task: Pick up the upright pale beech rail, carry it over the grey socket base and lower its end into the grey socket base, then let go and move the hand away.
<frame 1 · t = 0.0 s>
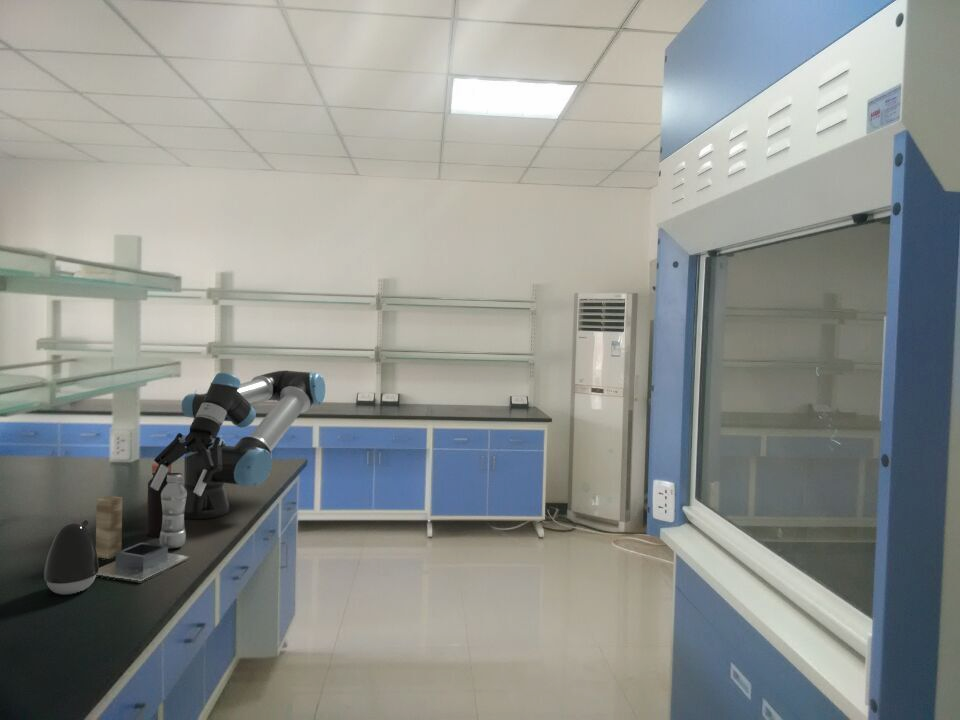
hand: (175, 491, 166), 15 cm above the lab bench, tool tilted 35°, fingers open, 13 cm apart
plastic bottle: (172, 548, 167), on the lab bench
vinegar: (160, 533, 178), on the lab bench
grey socket base: (141, 567, 153), on the lab bench
dark grey egg shape: (71, 590, 139), on the lab bench
beech rail: (108, 556, 159), on the lab bench
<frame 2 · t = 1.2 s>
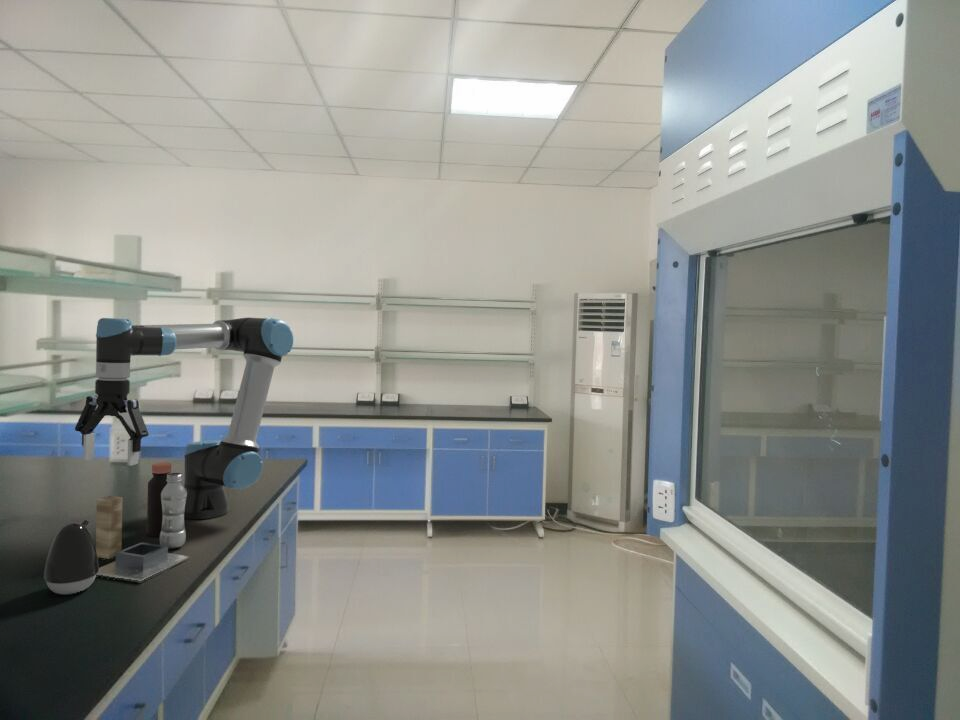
hand: (110, 462, 158), 24 cm above the lab bench, tool pointing down, fingers open, 13 cm apart
nothing on the lab bench moved.
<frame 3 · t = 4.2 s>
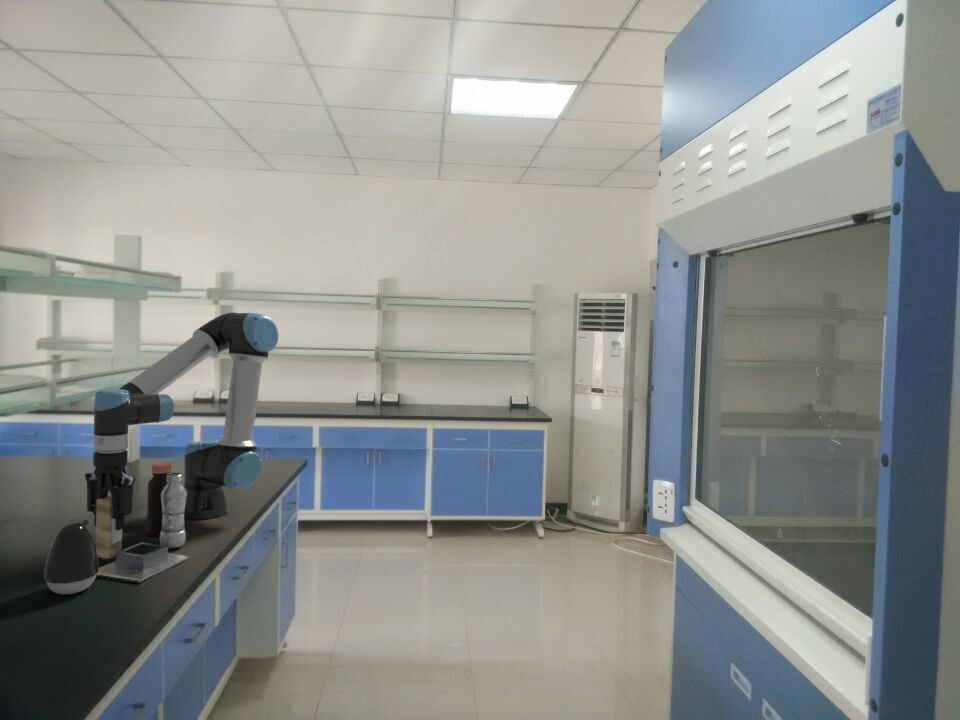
hand: (108, 540, 159), 4 cm above the lab bench, tool pointing down, fingers closed on beech rail, 4 cm apart
beech rail: (108, 556, 159), on the lab bench, touching gripper
everything else where it was.
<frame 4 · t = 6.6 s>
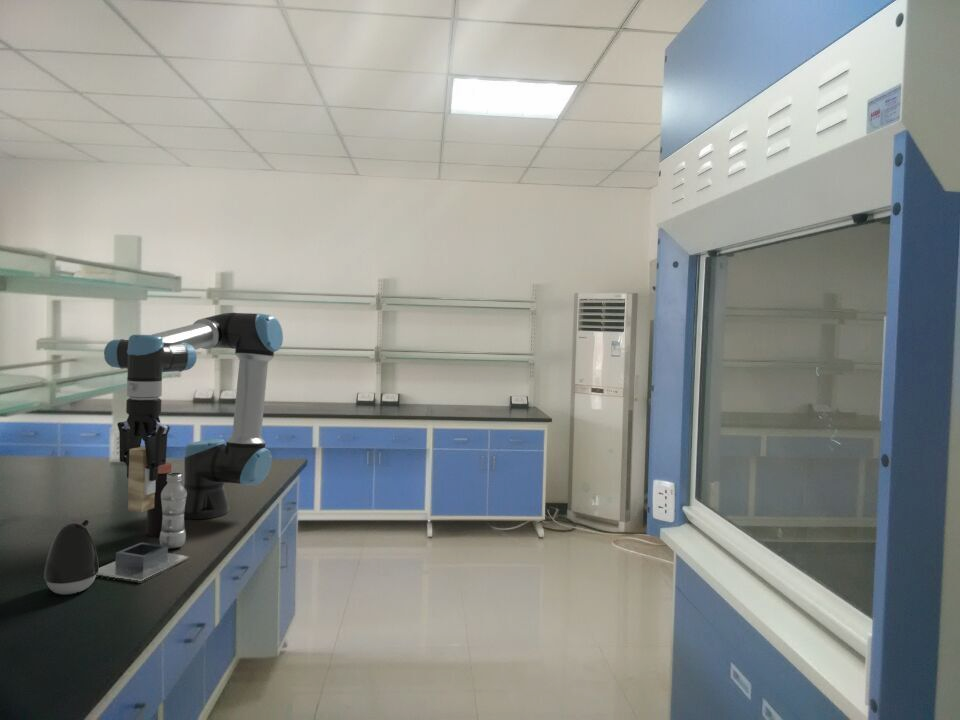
hand: (141, 492, 152), 19 cm above the lab bench, tool pointing down, fingers closed on beech rail, 4 cm apart
beech rail: (141, 508, 152), point 15 cm above the lab bench, touching gripper
everything else where it was.
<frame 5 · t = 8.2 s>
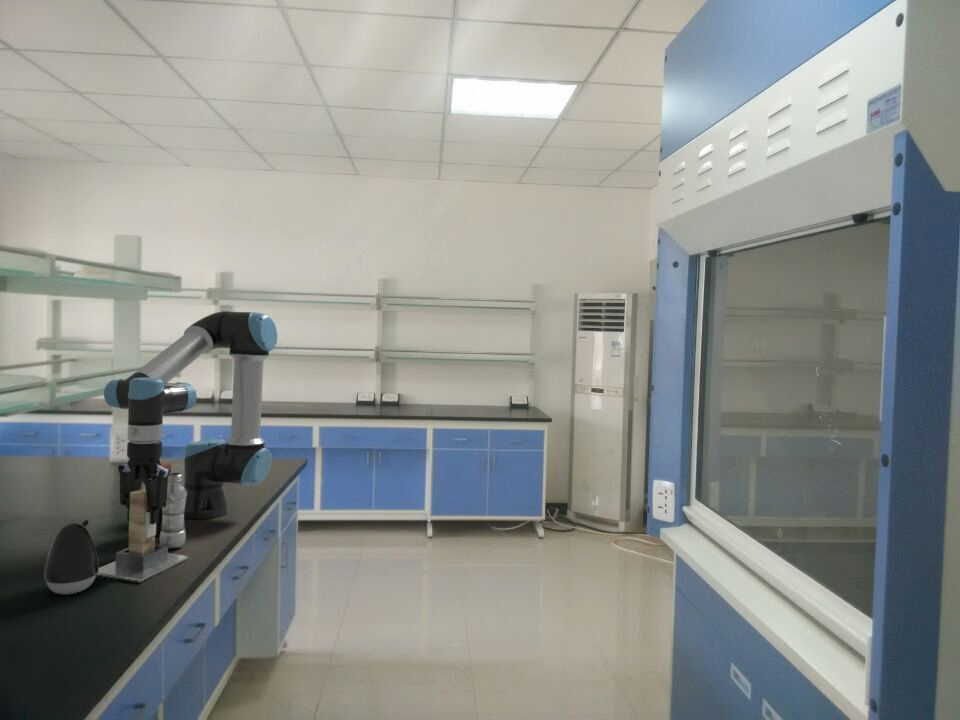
hand: (142, 534, 152), 8 cm above the lab bench, tool pointing down, fingers closed on beech rail, 4 cm apart
beech rail: (141, 551, 153), point 4 cm above the lab bench, touching gripper
everything else where it was.
when the fingers open (7 cm above the lab bench, at t = 9.3 s): beech rail drops 1 cm, resting on grey socket base.
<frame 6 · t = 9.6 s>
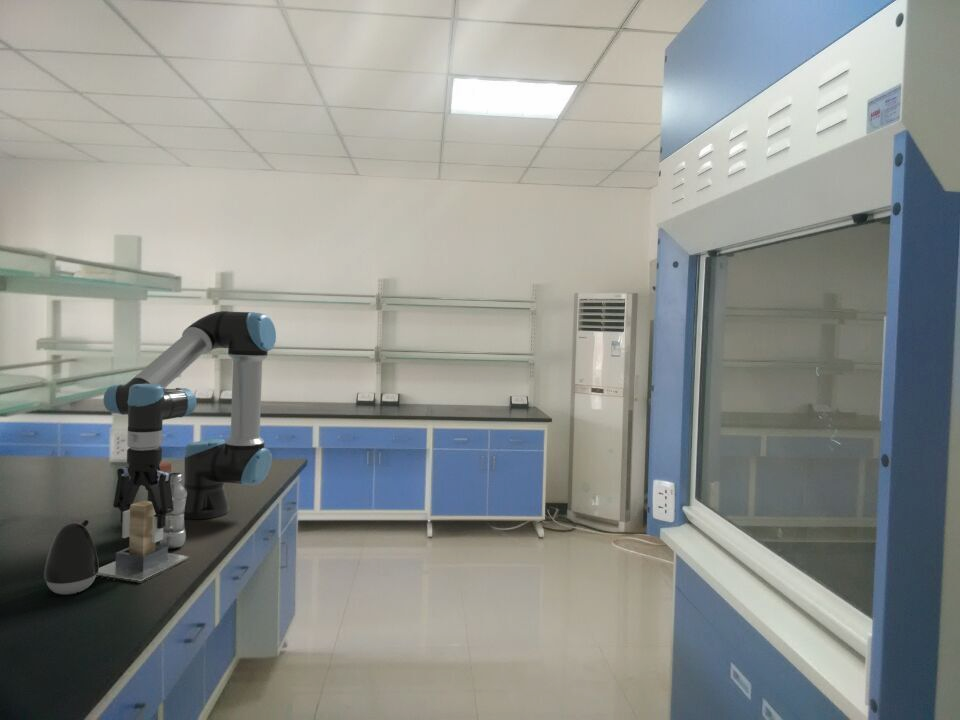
hand: (142, 538, 153), 7 cm above the lab bench, tool pointing down, fingers open, 8 cm apart
beech rail: (142, 563, 153), point 1 cm above the lab bench, touching grey socket base
everything else where it was.
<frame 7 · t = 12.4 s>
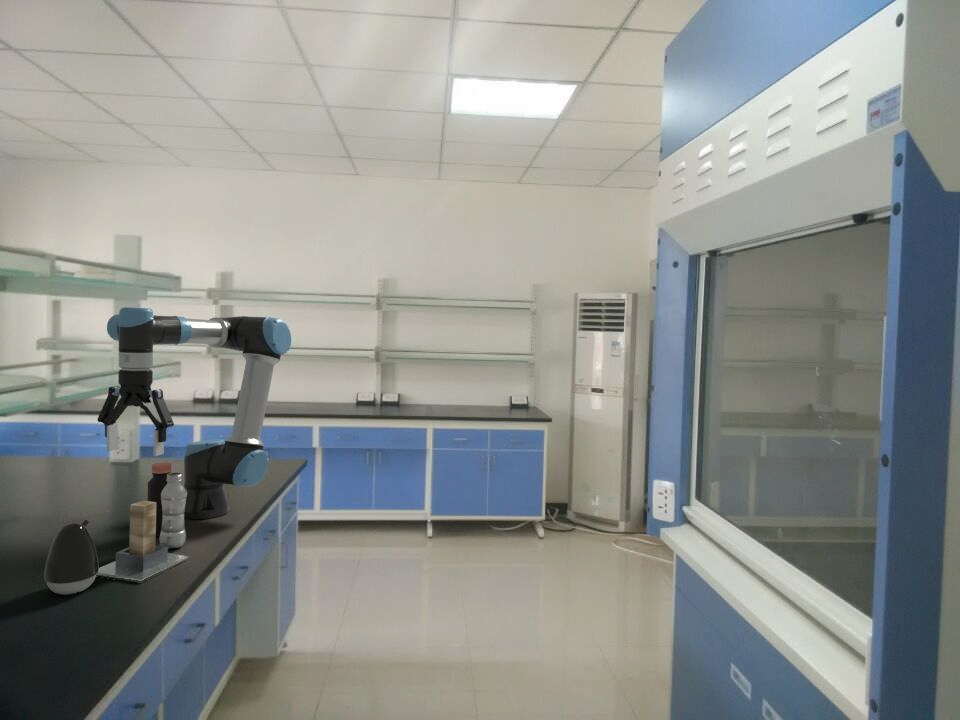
hand: (135, 452, 157), 27 cm above the lab bench, tool pointing down, fingers open, 13 cm apart
nothing on the lab bench moved.
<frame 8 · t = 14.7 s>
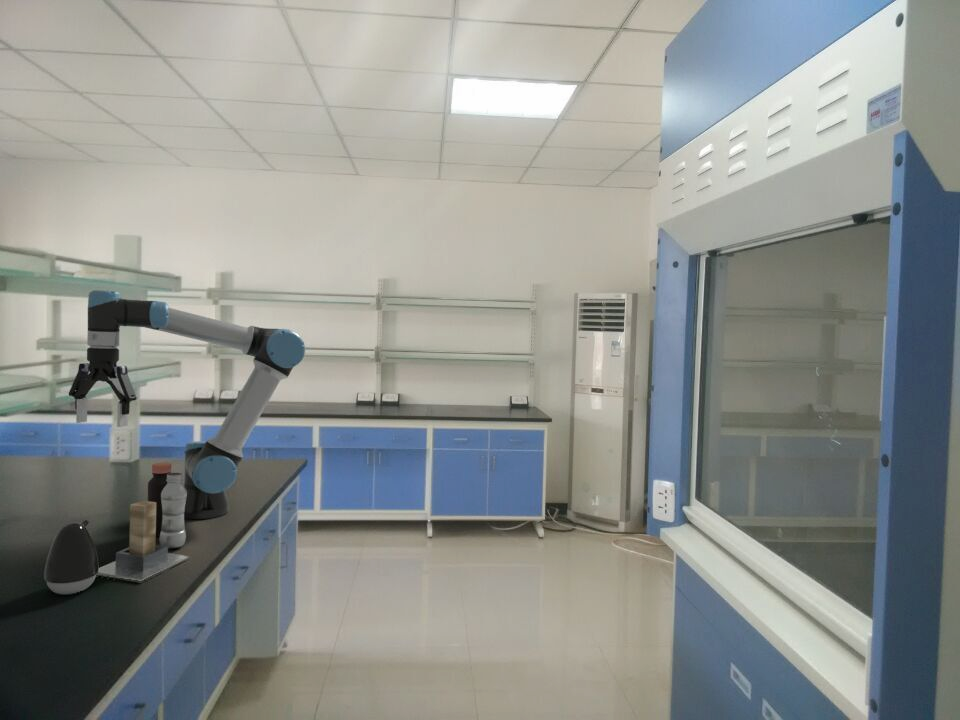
hand: (101, 424, 170), 32 cm above the lab bench, tool pointing down, fingers open, 13 cm apart
nothing on the lab bench moved.
at the end: beech rail 0.0 cm off-centre on the grey socket base, point 1.0 cm above the grey socket base's base; beech rail tilted 0°; the gripper is holding nothing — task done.
